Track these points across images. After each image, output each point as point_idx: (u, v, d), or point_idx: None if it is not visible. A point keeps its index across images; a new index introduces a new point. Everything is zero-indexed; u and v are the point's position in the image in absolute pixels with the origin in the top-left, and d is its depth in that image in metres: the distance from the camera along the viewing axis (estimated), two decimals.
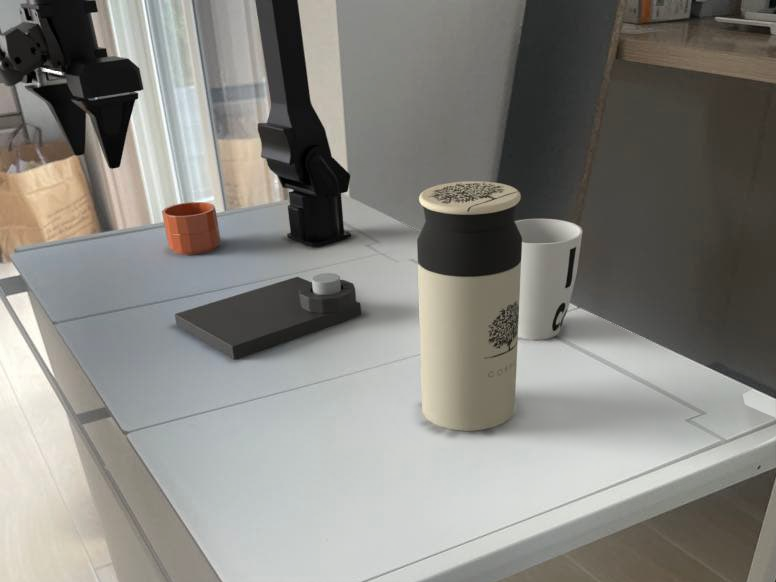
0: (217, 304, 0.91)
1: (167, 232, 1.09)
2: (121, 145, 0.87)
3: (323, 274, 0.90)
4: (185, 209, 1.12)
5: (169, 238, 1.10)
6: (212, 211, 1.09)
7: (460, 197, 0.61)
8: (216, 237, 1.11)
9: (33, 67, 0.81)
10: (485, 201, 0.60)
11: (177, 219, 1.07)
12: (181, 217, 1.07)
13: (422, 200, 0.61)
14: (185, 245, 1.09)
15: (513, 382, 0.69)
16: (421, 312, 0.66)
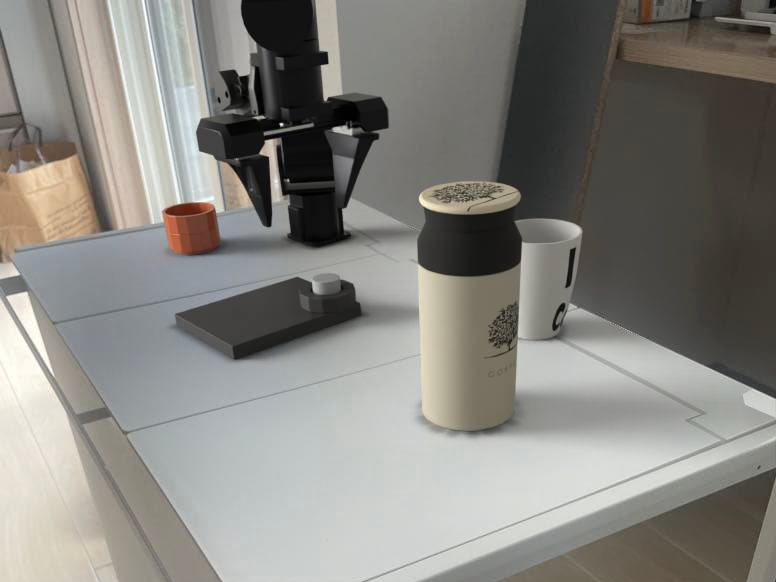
0: (217, 304, 0.91)
1: (167, 232, 1.09)
2: (264, 207, 0.81)
3: (323, 274, 0.90)
4: (185, 209, 1.12)
5: (169, 238, 1.10)
6: (212, 211, 1.09)
7: (460, 197, 0.61)
8: (216, 237, 1.11)
9: (246, 110, 0.82)
10: (486, 201, 0.60)
11: (177, 219, 1.07)
12: (181, 217, 1.07)
13: (422, 200, 0.61)
14: (185, 245, 1.09)
15: (513, 382, 0.69)
16: (421, 312, 0.66)
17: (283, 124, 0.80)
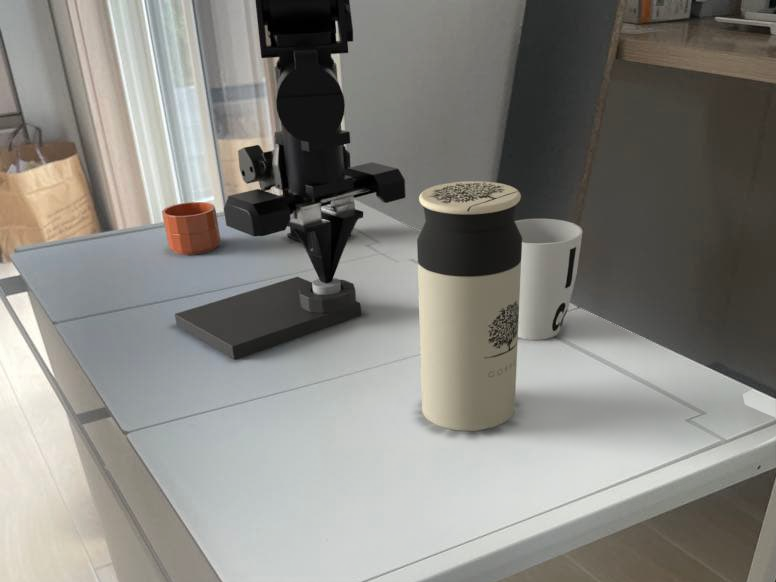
0: (217, 304, 0.91)
1: (167, 232, 1.09)
2: (323, 266, 0.87)
3: None
4: (185, 209, 1.12)
5: (169, 238, 1.10)
6: (212, 211, 1.09)
7: (460, 197, 0.61)
8: (216, 237, 1.11)
9: (270, 182, 0.85)
10: (486, 201, 0.60)
11: (177, 219, 1.07)
12: (181, 217, 1.07)
13: (422, 200, 0.61)
14: (185, 245, 1.09)
15: (513, 382, 0.69)
16: (421, 312, 0.66)
17: None
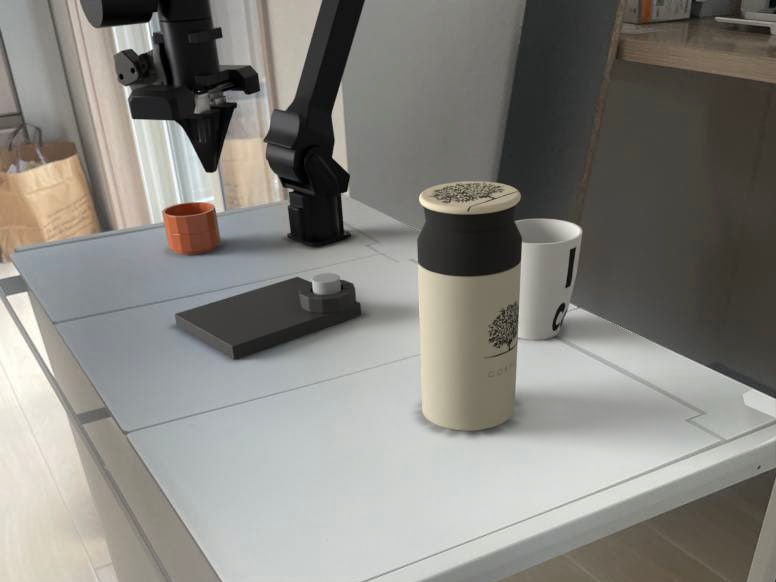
0: (217, 304, 0.91)
1: (167, 232, 1.09)
2: (211, 155, 0.98)
3: (323, 274, 0.90)
4: (185, 209, 1.12)
5: (169, 238, 1.10)
6: (212, 211, 1.09)
7: (460, 197, 0.61)
8: (216, 237, 1.11)
9: (147, 83, 0.94)
10: (486, 201, 0.60)
11: (177, 219, 1.07)
12: (181, 217, 1.07)
13: (422, 200, 0.61)
14: (185, 245, 1.09)
15: (513, 382, 0.69)
16: (421, 312, 0.66)
17: None
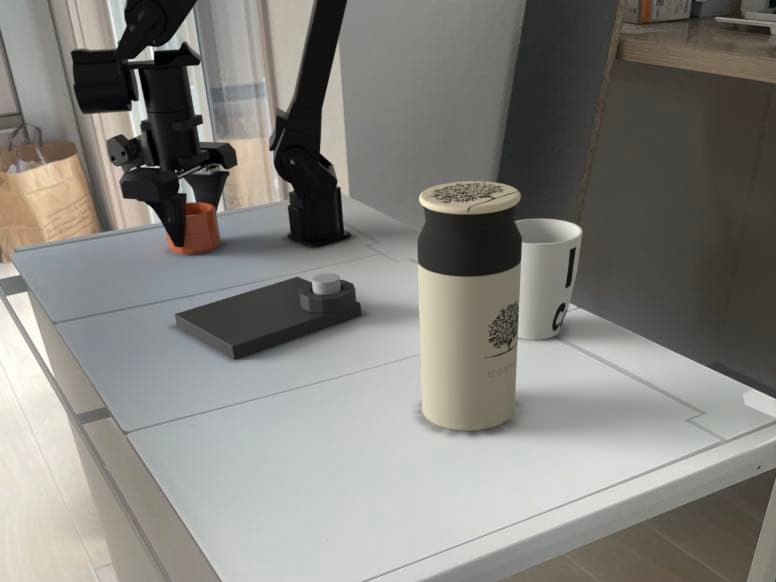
0: (217, 304, 0.91)
1: None
2: (180, 232, 1.07)
3: (323, 274, 0.90)
4: None
5: (169, 238, 1.10)
6: (212, 211, 1.09)
7: (460, 197, 0.61)
8: (216, 237, 1.11)
9: (136, 163, 1.06)
10: (486, 201, 0.60)
11: None
12: None
13: (422, 200, 0.61)
14: (185, 245, 1.09)
15: (513, 382, 0.69)
16: (421, 312, 0.66)
17: None
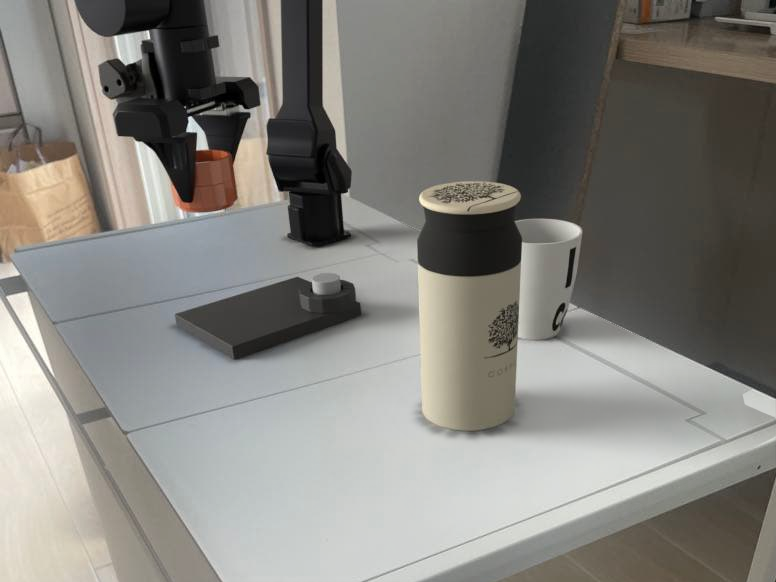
0: (217, 304, 0.91)
1: (172, 184, 0.89)
2: (188, 183, 0.86)
3: (323, 274, 0.90)
4: None
5: (174, 192, 0.89)
6: (228, 158, 0.88)
7: (460, 197, 0.61)
8: (232, 192, 0.90)
9: (135, 96, 0.85)
10: (486, 201, 0.60)
11: None
12: None
13: (422, 200, 0.61)
14: (194, 200, 0.88)
15: (513, 382, 0.69)
16: (421, 312, 0.66)
17: (184, 105, 0.86)
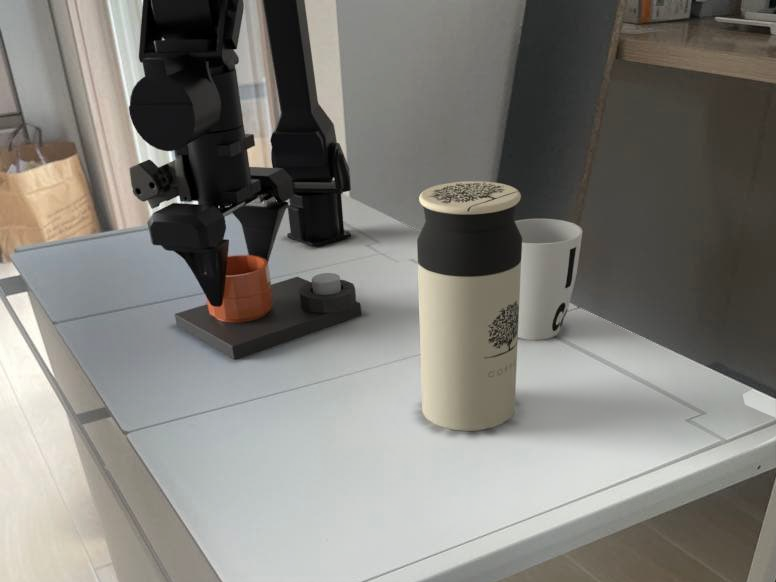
0: None
1: None
2: (218, 288, 0.82)
3: (323, 274, 0.90)
4: (229, 264, 0.89)
5: None
6: (265, 268, 0.86)
7: (460, 197, 0.61)
8: (269, 300, 0.88)
9: (167, 197, 0.82)
10: (486, 201, 0.60)
11: None
12: (226, 277, 0.84)
13: (422, 200, 0.61)
14: (230, 311, 0.86)
15: (513, 382, 0.69)
16: (421, 312, 0.66)
17: None
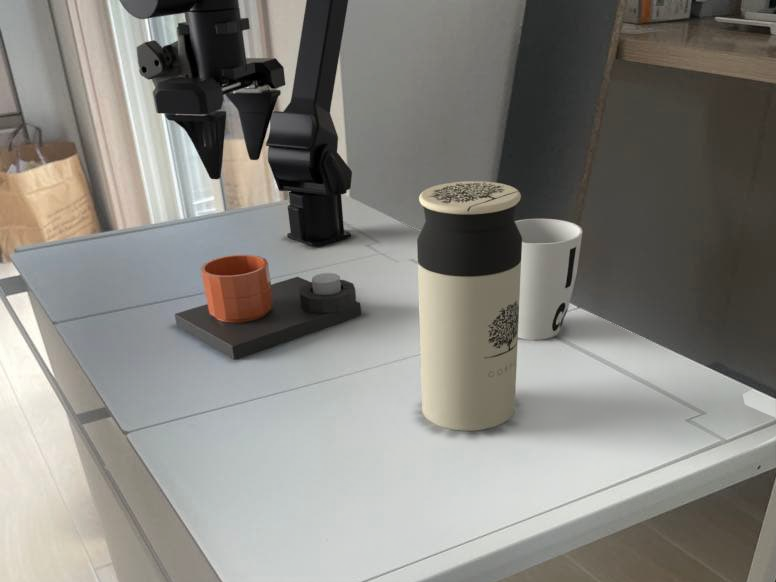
0: None
1: (207, 294, 0.86)
2: (216, 160, 0.91)
3: (323, 274, 0.90)
4: (229, 264, 0.89)
5: (210, 302, 0.87)
6: (265, 268, 0.86)
7: (460, 197, 0.61)
8: (269, 300, 0.88)
9: (170, 76, 0.90)
10: (486, 201, 0.60)
11: (221, 280, 0.84)
12: (226, 277, 0.84)
13: (422, 200, 0.61)
14: (230, 311, 0.86)
15: (513, 382, 0.69)
16: (421, 312, 0.66)
17: None
